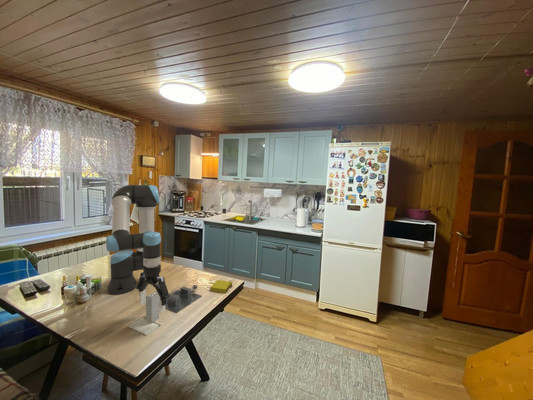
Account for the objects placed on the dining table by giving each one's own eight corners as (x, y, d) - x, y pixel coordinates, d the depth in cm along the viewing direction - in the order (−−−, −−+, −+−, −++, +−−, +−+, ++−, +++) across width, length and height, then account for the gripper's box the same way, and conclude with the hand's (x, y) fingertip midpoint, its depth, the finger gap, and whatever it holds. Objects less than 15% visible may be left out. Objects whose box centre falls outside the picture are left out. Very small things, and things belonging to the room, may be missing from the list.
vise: (154, 306, 123) (154, 296, 122) (186, 288, 144) (186, 279, 143) (176, 315, 116) (176, 304, 115) (206, 295, 137) (206, 285, 136)
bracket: (213, 272, 153) (234, 275, 150) (213, 283, 154) (234, 286, 150) (202, 282, 138) (225, 285, 135) (202, 294, 138) (225, 298, 135)
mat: (128, 326, 106) (128, 325, 106) (158, 309, 120) (158, 308, 120) (146, 335, 101) (146, 334, 101) (174, 316, 115) (174, 315, 115)
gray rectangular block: (146, 321, 109) (145, 296, 108) (158, 313, 116) (158, 290, 115) (151, 323, 108) (151, 298, 107) (164, 315, 114) (163, 292, 113)
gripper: (127, 262, 110) (128, 304, 112) (164, 273, 99) (164, 319, 101) (141, 257, 117) (142, 297, 118) (177, 267, 106) (177, 310, 108)
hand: (152, 307), depth 110 cm, fingers open, 13 cm apart
